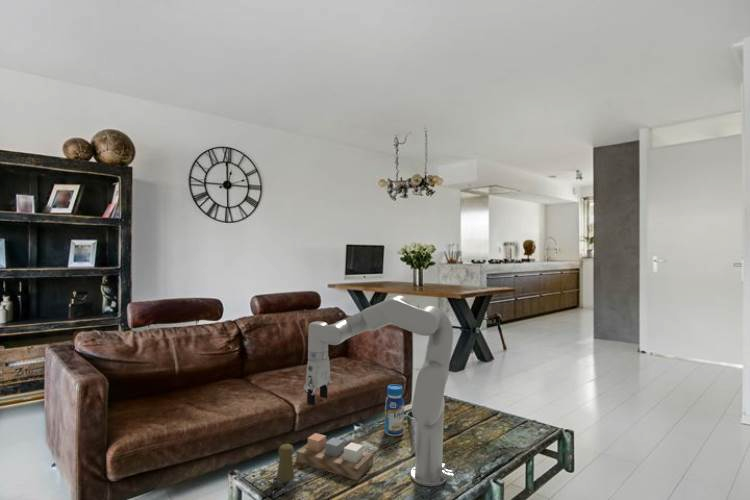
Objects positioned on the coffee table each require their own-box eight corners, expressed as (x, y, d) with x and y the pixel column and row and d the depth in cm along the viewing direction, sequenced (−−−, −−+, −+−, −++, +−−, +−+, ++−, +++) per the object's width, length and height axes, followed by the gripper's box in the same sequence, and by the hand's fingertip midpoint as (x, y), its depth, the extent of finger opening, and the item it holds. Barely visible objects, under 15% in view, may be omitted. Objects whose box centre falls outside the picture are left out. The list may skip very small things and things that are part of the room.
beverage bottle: (392, 426, 192) (392, 382, 191) (407, 431, 187) (408, 386, 186) (380, 432, 185) (381, 386, 185) (396, 438, 180) (397, 391, 179)
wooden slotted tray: (372, 464, 159) (373, 453, 159) (357, 480, 148) (357, 468, 148) (314, 448, 171) (314, 438, 171) (296, 461, 160) (296, 451, 160)
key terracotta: (325, 448, 164) (326, 435, 164) (318, 453, 160) (318, 441, 160) (315, 445, 166) (315, 432, 166) (307, 450, 162) (307, 438, 162)
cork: (287, 470, 154) (287, 440, 154) (298, 476, 150) (298, 445, 150) (273, 477, 149) (273, 446, 149) (284, 483, 146) (284, 451, 145)
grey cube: (343, 453, 161) (344, 440, 160) (336, 459, 156) (337, 446, 156) (332, 450, 163) (332, 437, 163) (325, 455, 158) (325, 443, 158)
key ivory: (362, 458, 157) (362, 445, 157) (355, 464, 153) (356, 451, 152) (350, 455, 159) (351, 442, 159) (343, 461, 155) (344, 448, 155)
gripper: (312, 361, 153) (312, 411, 153) (338, 351, 168) (338, 395, 169) (295, 359, 156) (295, 406, 157) (322, 348, 172) (322, 392, 172)
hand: (317, 400), depth 163 cm, fingers open, 7 cm apart
